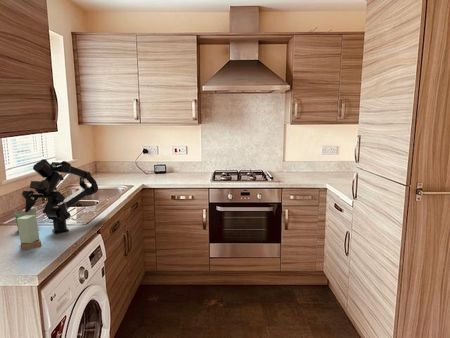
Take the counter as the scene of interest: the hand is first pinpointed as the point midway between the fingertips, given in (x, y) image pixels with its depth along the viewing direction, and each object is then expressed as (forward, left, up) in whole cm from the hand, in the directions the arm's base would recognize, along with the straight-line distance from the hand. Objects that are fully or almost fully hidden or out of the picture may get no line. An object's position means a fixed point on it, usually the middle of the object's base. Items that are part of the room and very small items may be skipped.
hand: (34, 212), depth 143 cm
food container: (-25, 0, -14) cm, 29 cm away
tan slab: (+3, -3, -14) cm, 15 cm away
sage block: (+3, -3, -12) cm, 12 cm away
